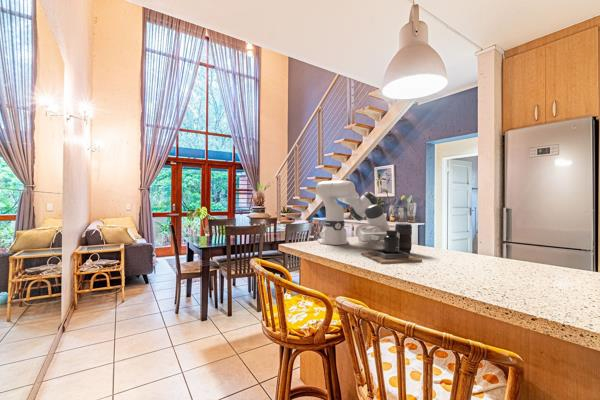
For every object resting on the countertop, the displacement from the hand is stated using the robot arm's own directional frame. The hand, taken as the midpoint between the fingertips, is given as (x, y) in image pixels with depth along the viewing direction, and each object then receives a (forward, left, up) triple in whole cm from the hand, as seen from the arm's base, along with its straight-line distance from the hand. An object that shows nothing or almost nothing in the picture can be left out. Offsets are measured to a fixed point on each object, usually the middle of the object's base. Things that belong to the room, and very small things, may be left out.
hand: (387, 238), depth 135 cm
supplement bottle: (+2, +1, -8) cm, 9 cm away
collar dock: (+2, 0, -9) cm, 9 cm away
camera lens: (-8, +14, -9) cm, 19 cm away
